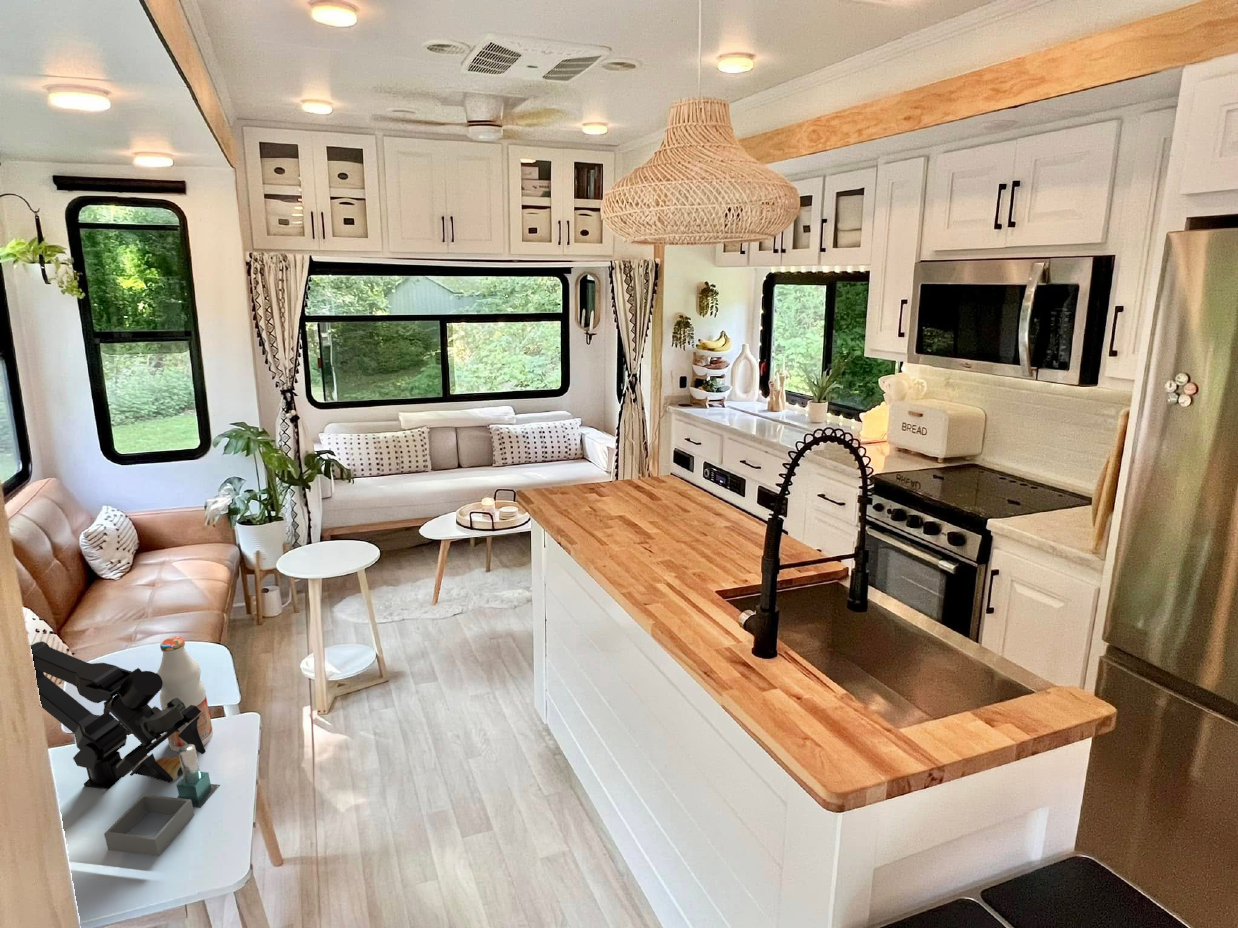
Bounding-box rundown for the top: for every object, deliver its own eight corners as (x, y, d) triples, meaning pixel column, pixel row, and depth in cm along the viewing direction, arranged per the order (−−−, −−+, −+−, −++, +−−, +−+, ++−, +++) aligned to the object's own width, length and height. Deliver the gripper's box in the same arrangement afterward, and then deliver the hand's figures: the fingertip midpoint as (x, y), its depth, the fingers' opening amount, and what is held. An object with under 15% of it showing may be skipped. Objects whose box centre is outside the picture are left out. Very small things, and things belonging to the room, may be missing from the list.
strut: (179, 800, 167) (170, 754, 163) (193, 786, 171) (183, 741, 168) (198, 802, 167) (189, 756, 163) (211, 788, 171) (202, 743, 167)
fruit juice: (161, 753, 183) (138, 651, 174) (186, 728, 192) (166, 629, 183) (198, 756, 182) (178, 653, 173) (221, 731, 191) (203, 632, 182)
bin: (109, 853, 155) (104, 833, 153) (147, 812, 165) (143, 794, 163) (159, 859, 153) (154, 839, 152) (195, 818, 164) (191, 799, 162)
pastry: (139, 779, 175) (136, 765, 174) (163, 760, 181) (160, 746, 180) (174, 787, 173) (171, 773, 172) (196, 767, 179) (194, 753, 178)
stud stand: (171, 808, 166) (167, 793, 165) (192, 785, 173) (189, 770, 172) (201, 811, 166) (198, 796, 164) (221, 788, 172) (218, 773, 171)
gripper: (116, 724, 154) (171, 779, 155) (187, 672, 171) (237, 722, 172) (92, 750, 159) (147, 803, 159) (164, 697, 176) (213, 745, 177)
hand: (188, 766), depth 167 cm, fingers open, 9 cm apart
